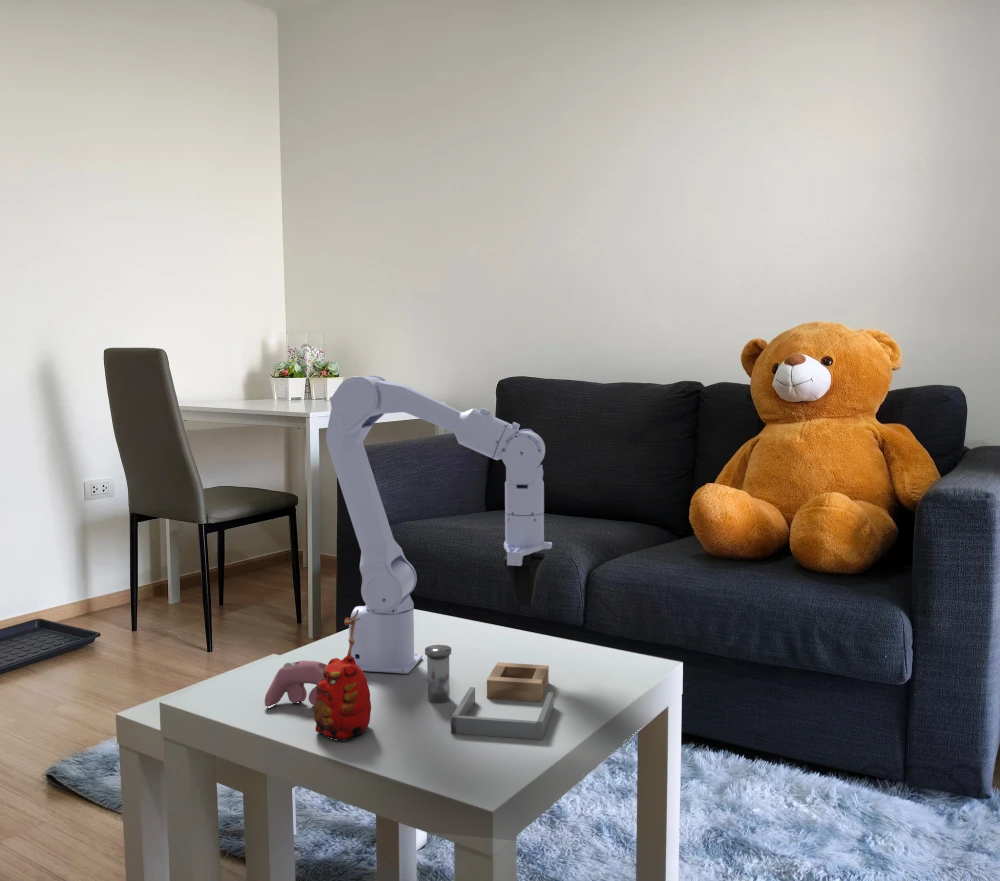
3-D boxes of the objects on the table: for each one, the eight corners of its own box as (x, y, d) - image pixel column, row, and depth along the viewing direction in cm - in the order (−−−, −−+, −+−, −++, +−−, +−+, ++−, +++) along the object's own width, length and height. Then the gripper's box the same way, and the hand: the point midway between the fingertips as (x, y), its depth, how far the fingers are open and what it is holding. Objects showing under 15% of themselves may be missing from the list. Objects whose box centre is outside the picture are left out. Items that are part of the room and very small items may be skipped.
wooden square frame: (486, 697, 124) (486, 680, 123) (497, 679, 131) (497, 662, 131) (541, 701, 122) (541, 683, 122) (548, 682, 130) (548, 665, 129)
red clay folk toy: (302, 730, 113) (300, 613, 111) (348, 715, 118) (346, 602, 116) (339, 748, 107) (336, 625, 106) (385, 731, 112) (383, 613, 111)
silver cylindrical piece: (422, 702, 122) (421, 652, 121) (430, 693, 125) (429, 644, 125) (447, 704, 121) (447, 653, 121) (454, 695, 125) (454, 645, 124)
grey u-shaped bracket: (451, 732, 112) (450, 717, 112) (470, 701, 122) (470, 687, 122) (541, 739, 110) (541, 723, 109) (553, 707, 120) (553, 692, 120)
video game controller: (341, 719, 120) (351, 666, 123) (325, 716, 116) (336, 661, 119) (276, 711, 123) (287, 659, 126) (259, 707, 119) (271, 654, 122)
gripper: (541, 522, 124) (542, 618, 126) (559, 506, 138) (559, 593, 140) (492, 520, 126) (493, 615, 127) (514, 504, 140) (515, 590, 141)
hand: (524, 603), depth 133 cm, fingers closed
